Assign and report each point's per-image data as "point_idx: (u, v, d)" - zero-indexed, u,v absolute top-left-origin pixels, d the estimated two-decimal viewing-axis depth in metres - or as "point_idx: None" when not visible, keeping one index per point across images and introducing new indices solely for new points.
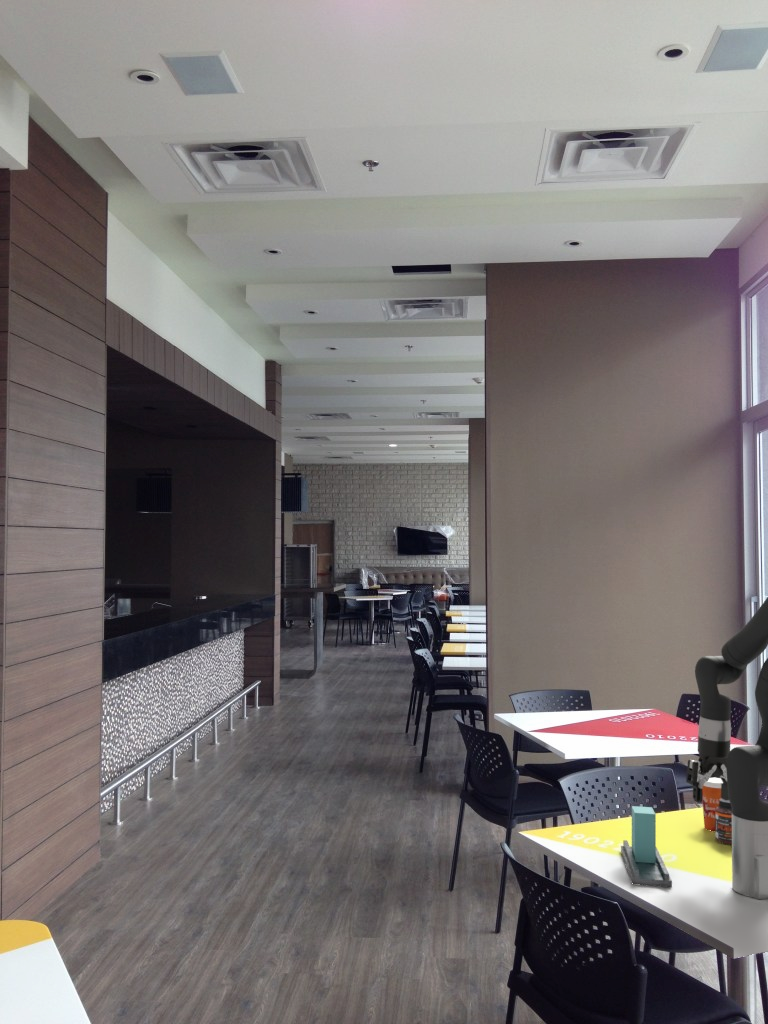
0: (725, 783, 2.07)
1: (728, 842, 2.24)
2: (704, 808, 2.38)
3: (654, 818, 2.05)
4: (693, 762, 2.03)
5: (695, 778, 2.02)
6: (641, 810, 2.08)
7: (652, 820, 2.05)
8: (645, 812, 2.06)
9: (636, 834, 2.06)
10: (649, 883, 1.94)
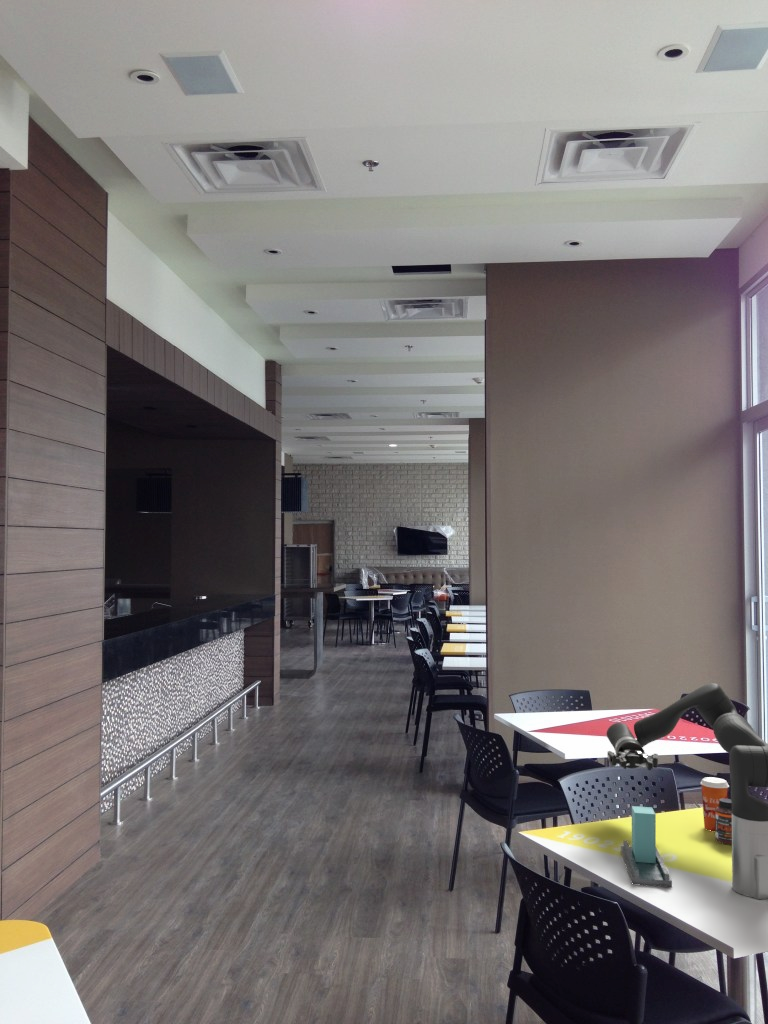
0: None
1: (728, 842, 2.24)
2: (704, 808, 2.38)
3: (654, 818, 2.05)
4: None
5: None
6: (641, 810, 2.08)
7: (652, 820, 2.05)
8: (645, 812, 2.06)
9: (636, 834, 2.06)
10: (649, 883, 1.94)
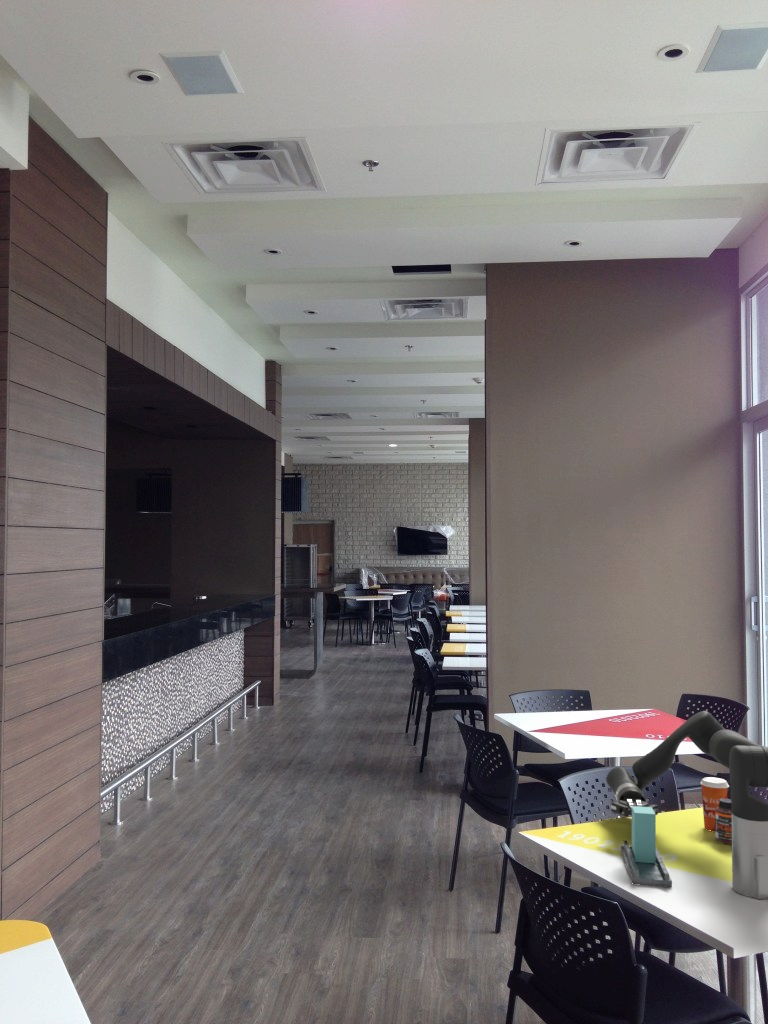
0: None
1: (728, 842, 2.24)
2: (704, 808, 2.38)
3: (654, 818, 2.05)
4: (657, 811, 2.25)
5: None
6: (641, 810, 2.08)
7: (652, 820, 2.05)
8: (645, 812, 2.06)
9: (636, 834, 2.06)
10: (649, 883, 1.94)
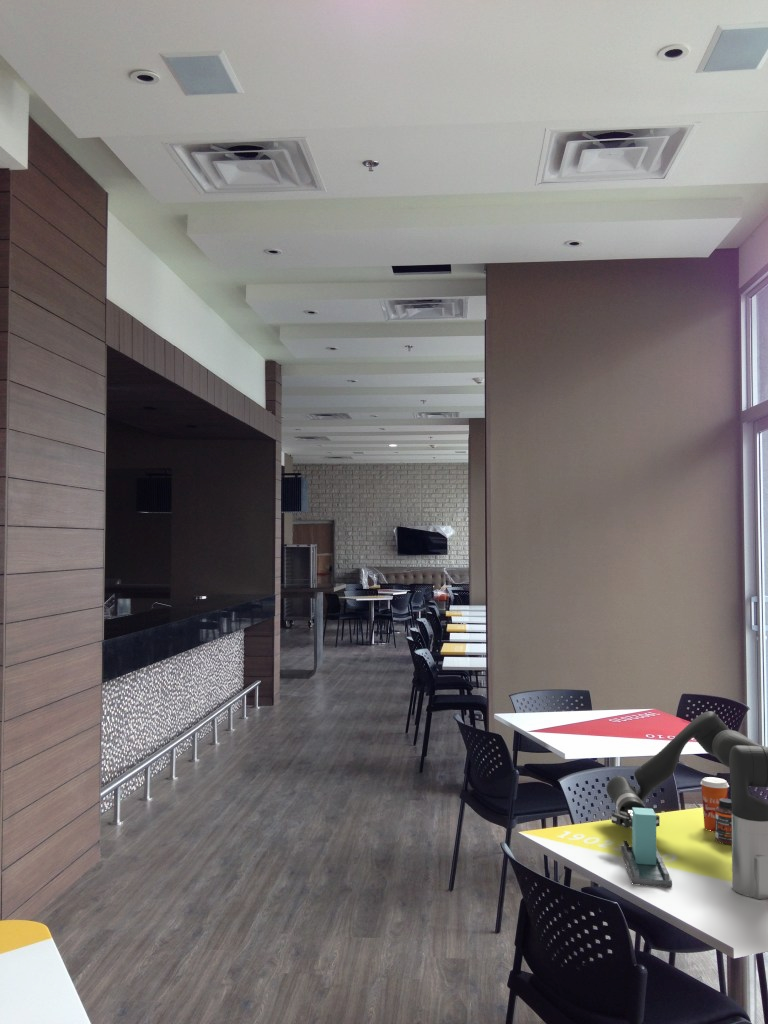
0: None
1: (728, 842, 2.24)
2: (704, 808, 2.38)
3: (655, 819, 2.04)
4: (658, 822, 2.18)
5: None
6: (642, 811, 2.07)
7: (653, 822, 2.04)
8: (646, 813, 2.05)
9: (637, 835, 2.04)
10: (649, 883, 1.94)
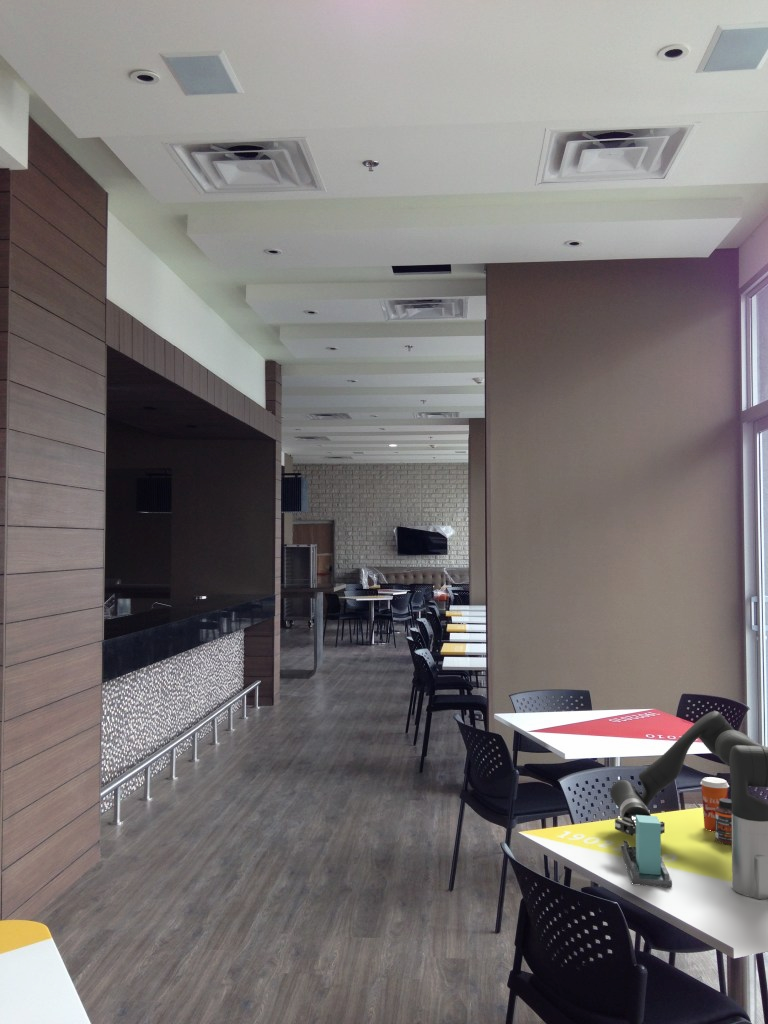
0: None
1: (728, 842, 2.24)
2: (704, 808, 2.38)
3: (659, 828, 1.97)
4: (663, 829, 2.11)
5: None
6: (645, 819, 2.00)
7: (657, 830, 1.97)
8: (650, 821, 1.99)
9: (640, 844, 1.98)
10: (649, 883, 1.94)
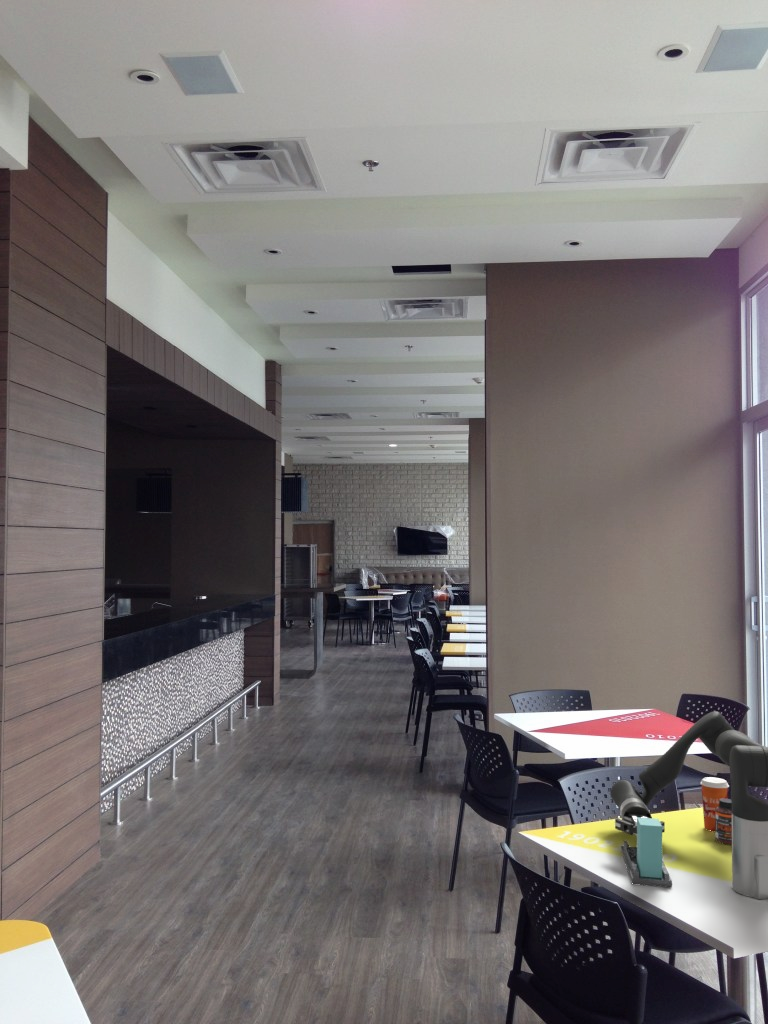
0: None
1: (728, 842, 2.24)
2: (704, 808, 2.38)
3: (661, 830, 1.95)
4: (663, 828, 2.11)
5: None
6: (647, 822, 1.98)
7: (659, 833, 1.95)
8: (651, 824, 1.97)
9: (642, 847, 1.96)
10: (649, 883, 1.94)
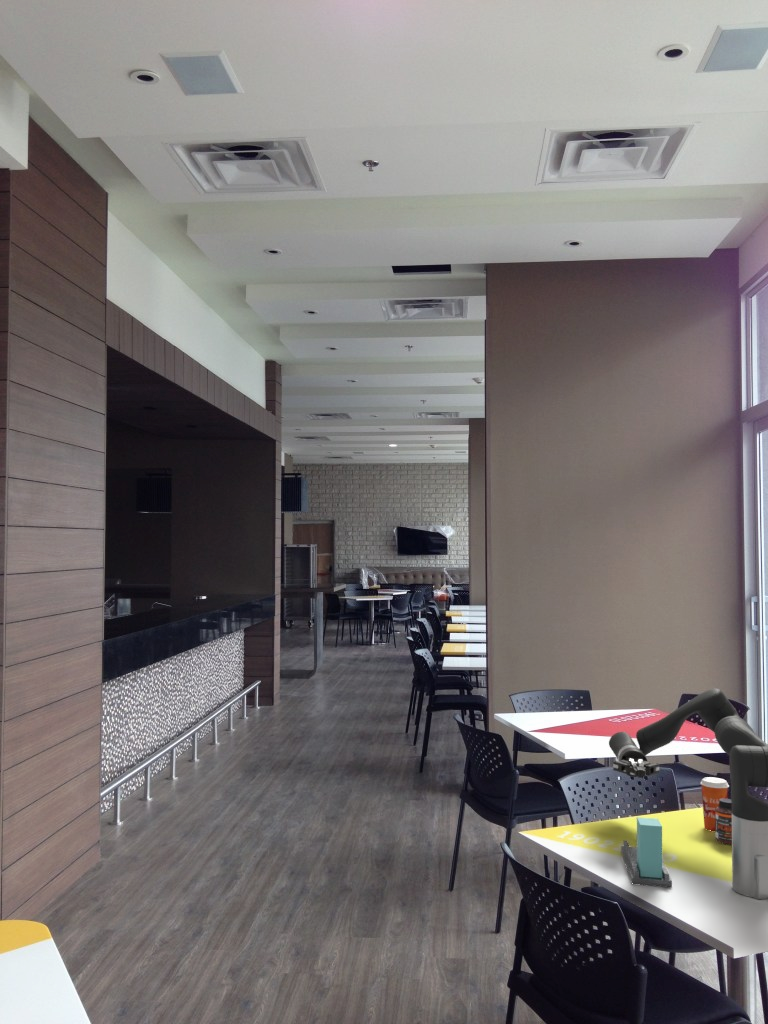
0: None
1: (728, 842, 2.24)
2: (704, 808, 2.38)
3: (661, 830, 1.95)
4: (658, 770, 2.26)
5: None
6: (647, 822, 1.98)
7: (659, 833, 1.95)
8: (651, 824, 1.97)
9: (642, 847, 1.96)
10: (649, 883, 1.94)
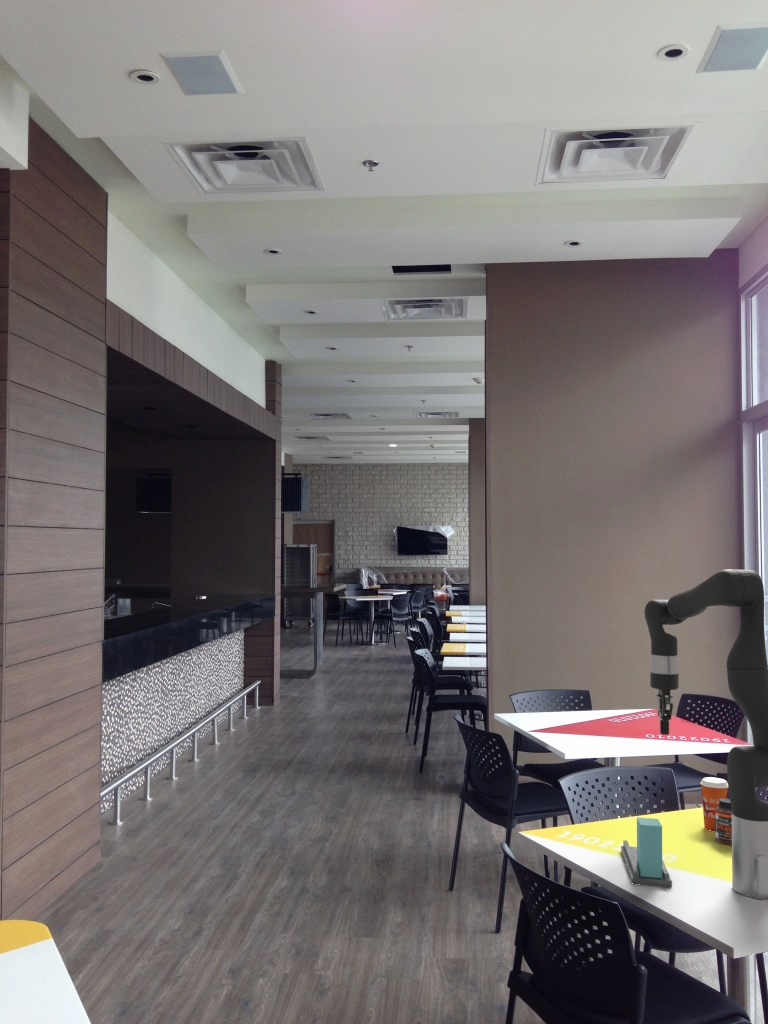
0: None
1: (728, 842, 2.24)
2: (704, 808, 2.38)
3: (661, 830, 1.95)
4: (670, 705, 2.23)
5: None
6: (647, 822, 1.98)
7: (659, 833, 1.95)
8: (651, 824, 1.97)
9: (642, 847, 1.96)
10: (649, 883, 1.94)
